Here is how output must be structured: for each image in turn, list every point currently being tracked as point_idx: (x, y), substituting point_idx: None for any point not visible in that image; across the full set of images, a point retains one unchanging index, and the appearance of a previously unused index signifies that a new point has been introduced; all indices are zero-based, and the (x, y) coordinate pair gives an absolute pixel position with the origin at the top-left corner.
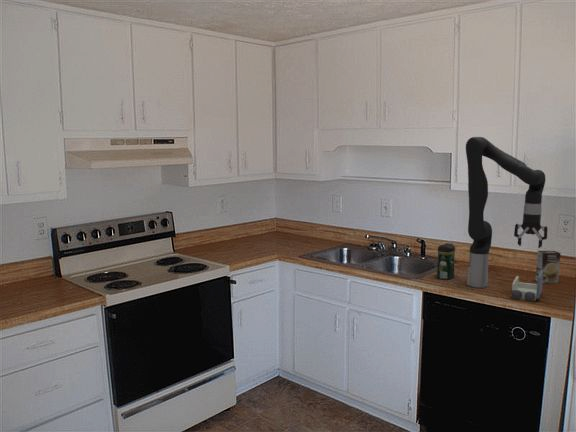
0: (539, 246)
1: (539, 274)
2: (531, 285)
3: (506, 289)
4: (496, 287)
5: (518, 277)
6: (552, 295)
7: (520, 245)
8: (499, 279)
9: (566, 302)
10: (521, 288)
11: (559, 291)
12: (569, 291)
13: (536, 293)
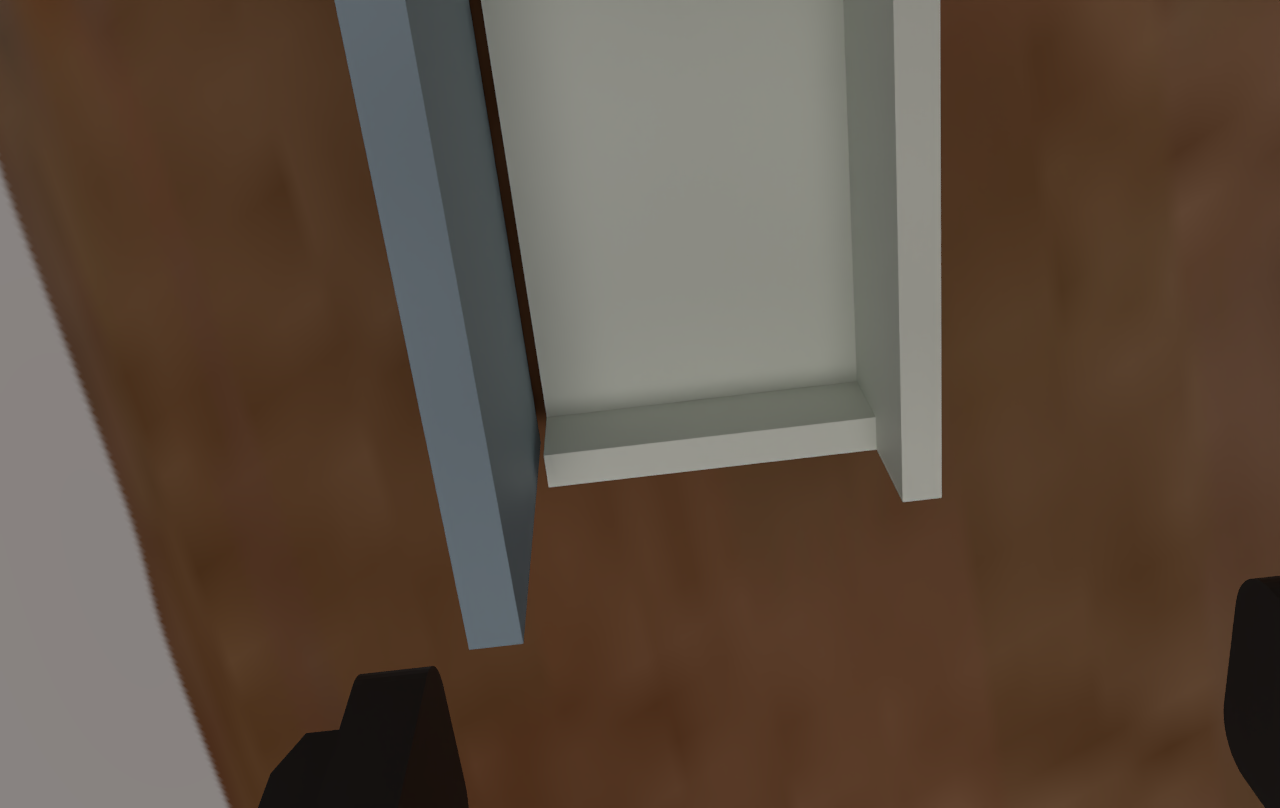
0: (368, 713)
1: (430, 218)
2: (657, 431)
3: (1011, 310)
4: (1169, 329)
5: (898, 444)
6: (342, 397)
7: (1265, 583)
8: (1162, 744)
9: (48, 141)
10: (796, 353)
11: (325, 644)
12: (218, 715)
13: (523, 200)
